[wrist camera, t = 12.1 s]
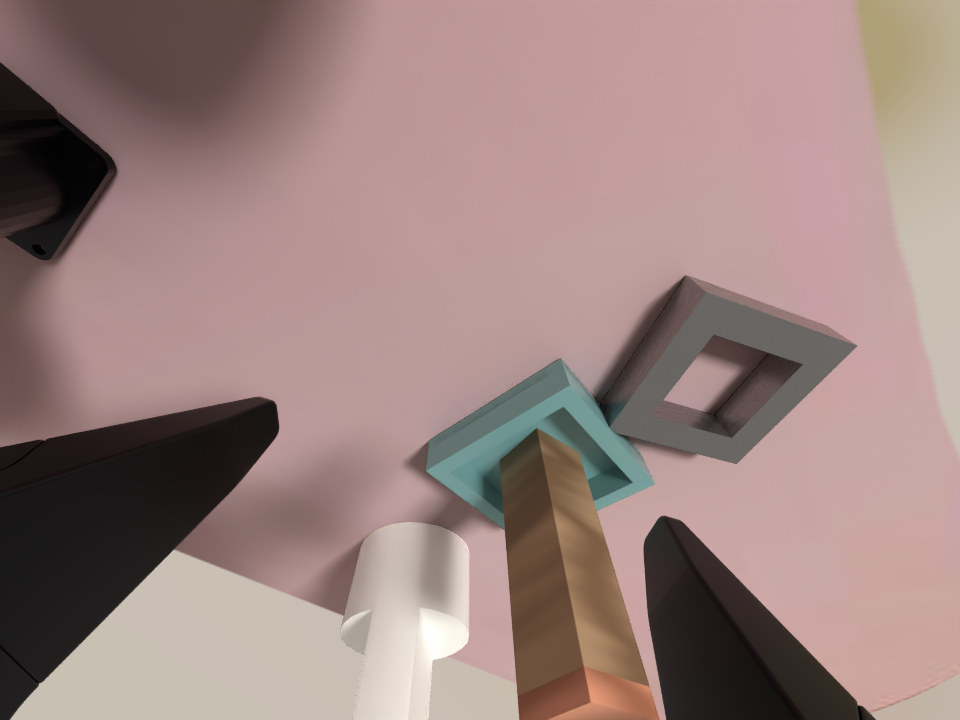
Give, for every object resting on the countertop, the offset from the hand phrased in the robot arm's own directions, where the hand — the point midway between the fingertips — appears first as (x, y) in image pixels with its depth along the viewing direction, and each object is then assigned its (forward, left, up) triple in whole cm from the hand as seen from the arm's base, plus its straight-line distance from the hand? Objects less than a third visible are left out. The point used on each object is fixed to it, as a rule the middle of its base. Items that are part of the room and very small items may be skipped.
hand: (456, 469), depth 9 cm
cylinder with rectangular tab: (-19, -16, -12) cm, 28 cm away
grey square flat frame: (+7, -13, -12) cm, 19 cm away
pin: (-4, -12, -11) cm, 17 cm away
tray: (-4, -12, -12) cm, 18 cm away
